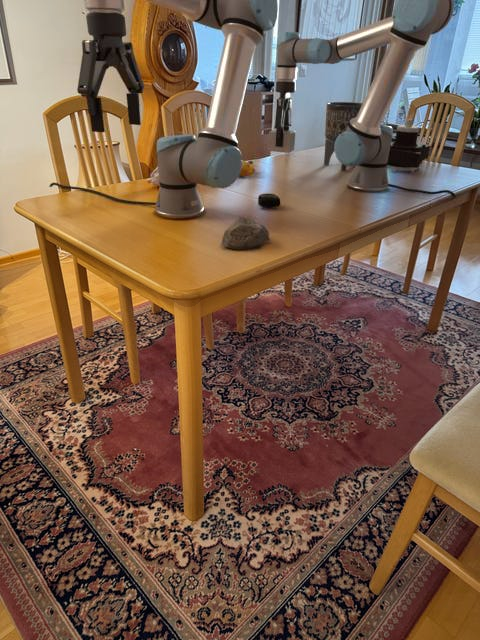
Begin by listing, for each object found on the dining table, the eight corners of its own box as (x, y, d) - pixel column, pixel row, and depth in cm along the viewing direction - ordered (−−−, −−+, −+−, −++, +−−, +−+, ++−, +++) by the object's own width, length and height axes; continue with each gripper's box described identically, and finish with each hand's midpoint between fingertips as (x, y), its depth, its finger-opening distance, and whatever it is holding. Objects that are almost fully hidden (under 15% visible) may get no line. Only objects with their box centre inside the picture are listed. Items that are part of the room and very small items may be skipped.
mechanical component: (376, 119, 196) (405, 114, 216) (368, 169, 207) (396, 160, 227) (425, 124, 184) (451, 118, 204) (414, 176, 195) (439, 166, 215)
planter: (313, 167, 208) (319, 103, 195) (331, 160, 222) (338, 101, 209) (353, 173, 199) (362, 107, 185) (369, 166, 213) (379, 104, 199)
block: (273, 148, 187) (274, 129, 183) (294, 150, 184) (295, 131, 181) (268, 151, 181) (268, 131, 177) (289, 152, 178) (290, 133, 175)
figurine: (184, 183, 177) (182, 149, 170) (157, 191, 166) (154, 155, 160) (168, 180, 181) (166, 147, 174) (141, 188, 170) (138, 152, 163)
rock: (255, 233, 128) (256, 211, 124) (276, 242, 122) (278, 219, 119) (217, 244, 120) (217, 220, 117) (239, 254, 115) (239, 230, 111)
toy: (224, 169, 185) (230, 160, 198) (230, 184, 188) (235, 175, 200) (250, 160, 182) (254, 152, 194) (255, 175, 185) (259, 167, 197)
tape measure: (259, 210, 148) (260, 198, 147) (256, 204, 154) (256, 193, 152) (280, 209, 149) (281, 198, 147) (275, 203, 155) (276, 192, 153)
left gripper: (125, 17, 101) (135, 120, 112) (44, 7, 81) (65, 133, 92) (154, 17, 99) (161, 122, 109) (78, 6, 79) (96, 136, 89)
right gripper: (283, 79, 179) (280, 140, 191) (268, 81, 163) (265, 148, 174) (302, 80, 177) (297, 142, 189) (288, 82, 161) (283, 150, 172)
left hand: (117, 128), depth 101 cm, fingers open, 13 cm apart
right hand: (281, 145), depth 181 cm, fingers closed on block, 7 cm apart
